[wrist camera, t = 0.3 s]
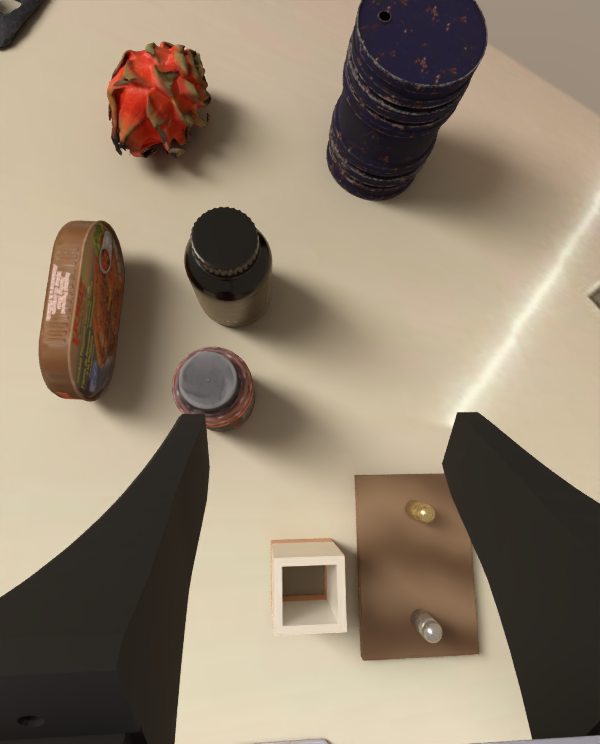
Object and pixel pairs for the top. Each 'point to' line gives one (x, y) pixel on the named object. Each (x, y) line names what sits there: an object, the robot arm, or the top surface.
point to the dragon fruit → (156, 98)
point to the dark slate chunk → (15, 20)
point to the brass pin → (420, 511)
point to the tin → (82, 310)
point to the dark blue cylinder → (400, 89)
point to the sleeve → (308, 609)
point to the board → (412, 569)
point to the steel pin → (426, 626)
